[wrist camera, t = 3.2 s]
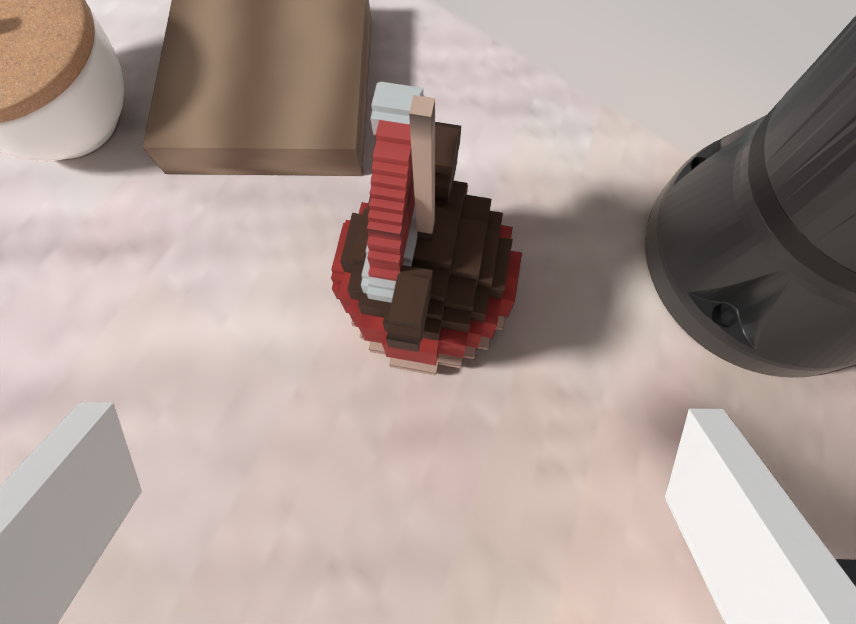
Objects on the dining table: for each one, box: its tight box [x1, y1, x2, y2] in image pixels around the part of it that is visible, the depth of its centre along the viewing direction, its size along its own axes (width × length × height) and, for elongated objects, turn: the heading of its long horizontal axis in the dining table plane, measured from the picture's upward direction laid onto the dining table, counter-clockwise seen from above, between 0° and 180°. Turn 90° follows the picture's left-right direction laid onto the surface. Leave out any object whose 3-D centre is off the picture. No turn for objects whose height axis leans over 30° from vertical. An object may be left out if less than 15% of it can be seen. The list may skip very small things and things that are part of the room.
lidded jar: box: [0, 0, 124, 161], centre depth 33 cm, size 11×11×9 cm
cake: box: [331, 82, 522, 375], centre depth 25 cm, size 11×9×18 cm
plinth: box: [143, 0, 371, 176], centre depth 37 cm, size 13×13×3 cm
